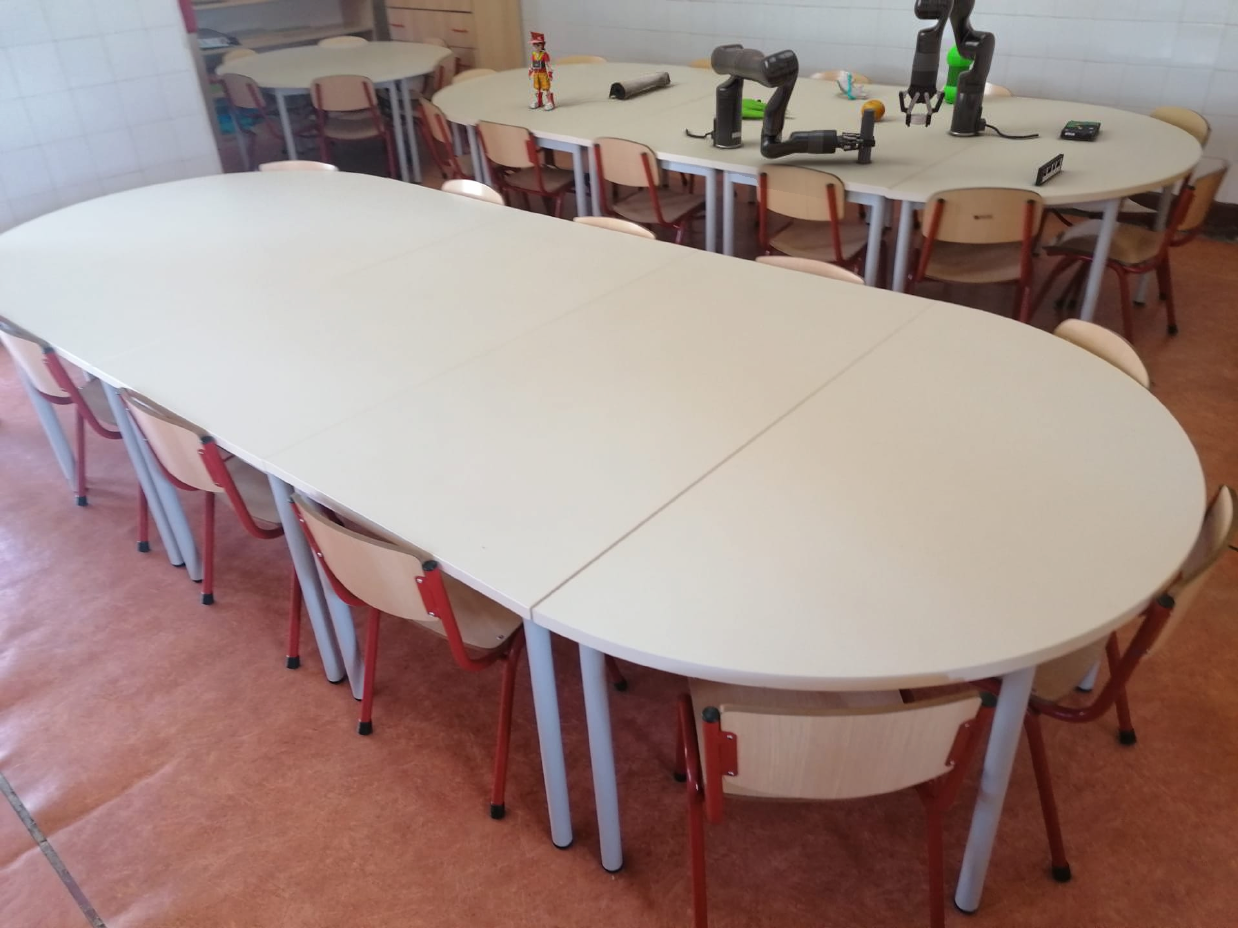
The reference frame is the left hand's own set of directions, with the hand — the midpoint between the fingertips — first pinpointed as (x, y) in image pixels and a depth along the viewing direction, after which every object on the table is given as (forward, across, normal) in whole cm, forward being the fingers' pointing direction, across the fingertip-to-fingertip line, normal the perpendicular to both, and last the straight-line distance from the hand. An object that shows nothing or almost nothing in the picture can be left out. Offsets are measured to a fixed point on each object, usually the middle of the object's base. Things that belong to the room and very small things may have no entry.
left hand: (874, 141), depth 294 cm
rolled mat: (-91, +106, +7) cm, 140 cm away
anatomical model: (-2, +92, +7) cm, 92 cm away
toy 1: (-130, +82, +7) cm, 154 cm away
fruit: (+4, +52, +7) cm, 53 cm away
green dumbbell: (+38, +78, +7) cm, 87 cm away
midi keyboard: (+51, -19, +7) cm, 55 cm away
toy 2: (-39, +63, +7) cm, 74 cm away
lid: (+11, -13, -11) cm, 20 cm away
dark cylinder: (-3, 0, +7) cm, 7 cm away
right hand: (+11, -13, -8) cm, 19 cm away
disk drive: (+72, +29, +7) cm, 78 cm away
